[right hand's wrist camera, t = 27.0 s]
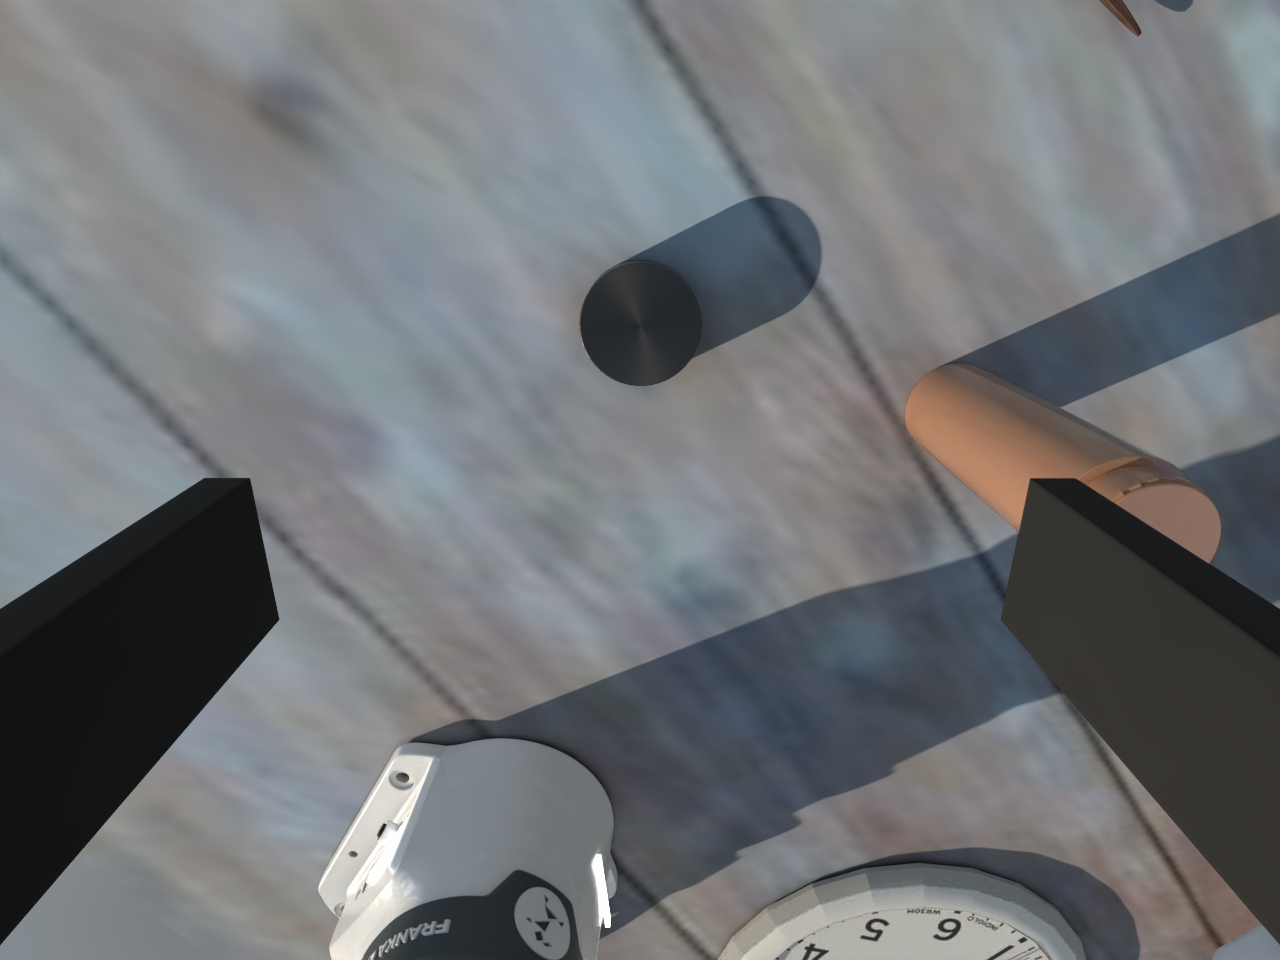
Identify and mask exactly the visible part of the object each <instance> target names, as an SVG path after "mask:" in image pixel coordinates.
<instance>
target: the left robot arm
mask: <svg viewBox="0 0 1280 960" xmlns="http://www.w3.org/2000/svg"><path fill="white" fill-rule="evenodd" d="M401 772H402V773H401ZM403 773H406V774H408V775H406V774H403ZM613 830H614V817H613V810H612V806H611V803H610V800H609V798H608V796H607V794H606V792H605V790H604V788H603V787H602V785H601V784H600V783H599V781H598V780H597V779H596V778H595V776H594V775H593V774H592V773H591V772H590V771H589V770H588V769H586V768H585V767H584V766H583V765H582V764H580V763H579V762H578V761H576V760H575V759H573V758H572V757H570V756H568V755H566V754H564V753H563V752H560V751H558V750H556V749H554V748H551V747H549V746H546V745H543V744H539V743H535V742H531V741H526V740H519V739H508V738H496V739H484V740H477V741H472V742H468V743H463V744H458V745H450V746H444V745H437V744H429V743H406V744H403V745H401V746H399V747H398V748H397V749H396V751H395V752H394V754H393V756H392V757H391V759H390V761H389V762H388V764H387V766H386V768H385V769H384V771H383V773H382V774H381V776H380V778H379V779H378V781H377V783H376V785H375V786H374V788H373V790H372V791H371V793H370V795H369V796H368V798H367V800H366V802H365V803H364V805H363V807H362V808H361V810H360V812H359V813H358V815H357V817H356V819H355V820H354V822H353V824H352V825H351V827H350V829H349V830H348V832H347V834H346V836H345V837H344V839H343V841H342V842H341V844H340V846H339V847H338V849H337V851H336V852H335V854H334V856H333V858H332V859H331V861H330V863H329V864H328V866H327V868H326V870H325V871H324V873H323V876H322V879H321V882H320V884H319V888H318V889H319V893H320V895H321V896H322V898H323V900H324V901H325V903H326V904H327V906H328V907H329V908H330V909H331V910H332V912H333V913H334V914H335V915H336V916H337V917H338V918H339V921H338V924H337V926H336V929H335V932H334V934H333V937H332V940H331V943H330V948H329V949H330V955H331V959H332V960H596V957H597V951H598V944H599V938H600V931H601V925H602V918H603V914H604V921H605V927H606V928H607V927H610V911H609V904H608V899H610V898H611V897H613V896H614V894H615V893H616V889H617V882H618V873H617V869H616V866H615V863H614V861H613V858H612V856H611V842H612V836H613ZM1211 960H1280V945H1279V944H1278V942H1277V941H1276V940H1275V939H1274V938H1273V937H1272V935H1271V934H1270V933H1269V932H1268V931H1267V930H1266V928H1265V927H1264V926H1263V925H1262V924H1259V925H1258V926H1256V927H1254V928H1252V929H1251V930H1249V931H1247V932H1246V933H1244V934H1242V935H1241V936H1239V937H1237V938H1236V939H1234V940H1232V941H1230V942H1228V943H1226V944H1225V945H1223V946H1221V947H1220V948H1218V949H1217V950H1216V951H1215V952H1214V953H1213V956H1212V959H1211Z"/></svg>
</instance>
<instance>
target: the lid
mask: <svg viewBox="0 0 1280 960" xmlns="http://www.w3.org/2000/svg"><path fill="white" fill-rule="evenodd" d="M580 334H581V340H582V343H583V346H584V348H585V351H586V353H587V355H588V356H589V358H590V360H591V361H592V362H593V363H594V365H595V366H596V367H597V368H598V369H599V370H600V371H601V372H603V373H604V374H605V375H607V376H608V377H610V378H612V379H614V380H616V381H618V382H621V383H624V384H628V385H634V386H647V385H653V384H657V383H660V382H663V381H665V380H667V379H669V378H671V377H673V376H674V375H676V374H677V373H678V372H680V371H681V370H682V369H683V368H684V367H685V366H686V365H687V363H688V362H689V361H690V360H691V358H692V356H693V355H694V353H695V351H696V348H697V346H698V343H699V340H700V335H701V313H700V309H699V305H698V303H697V300H696V298H695V296H694V294H693V292H692V290H691V289H690V287H689V286H688V284H687V283H686V281H685V280H684V279H683V278H682V277H681V276H680V275H679V274H678V273H676V272H675V271H674V270H672V269H671V268H669V267H667V266H665V265H663V264H661V263H658V262H654V261H648V260H633V261H627V262H623V263H620V264H618V265H616V266H614V267H612V268H610V269H609V270H607V271H606V272H605V273H603V274H602V275H601V276H600V277H599V278H598V279H597V280H596V281H595V283H594V284H593V286H592V287H591V289H590V291H589V292H588V294H587V296H586V298H585V300H584V303H583V306H582V309H581V314H580Z"/></svg>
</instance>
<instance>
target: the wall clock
mask: <svg viewBox="0 0 1280 960" xmlns="http://www.w3.org/2000/svg"><path fill="white" fill-rule="evenodd" d="M718 960H1086V956H1085V953H1084V949H1083V945H1082V942H1081V940H1080V939H1079V937H1078V936H1077V934H1076V933H1075V932H1074V930H1073V929H1072V928H1071V927H1070V925H1069V924H1068V923H1067V921H1066V920H1065V919H1064V918H1063V916H1062V915H1061V914H1060V912H1059V911H1058V910H1057V909H1056V907H1054V906H1053V905H1051V904H1050V903H1048V902H1047V901H1045V900H1044V899H1042V898H1041V897H1039V896H1038V895H1036V894H1035V893H1033V892H1031V891H1030V890H1028V889H1027V888H1025V887H1024V886H1022V885H1021V884H1019V883H1016V882H1013V881H1010V880H1007V879H1004V878H1001V877H998V876H995V875H992V874H989V873H986V872H983V871H980V870H977V869H974V868H966V867H956V866H946V865H936V864H926V863H913V864H902V865H892V866H881V867H871V868H863V869H860V870H856V871H853V872H849V873H846V874H842V875H839V876H836V877H832V878H829V879H825V880H822V881H818V882H815V883H812V884H810V885H808V886H806V887H804V888H802V889H800V890H798V891H797V892H795V893H793V894H791V895H789V896H787V897H785V898H783V899H781V900H779V901H778V902H776V903H774V904H772V905H770V906H768V907H766V908H765V909H764V910H763V911H762V912H761V913H759V914H758V915H757V916H756V917H755V918H754V919H753V920H751V921H750V922H749V923H748V924H747V925H746V926H744V927H743V928H742V929H741V930H740V931H739V932H738V933H736V934H735V935H734V936H733V937H732V938H731V940H730V941H729V943H728V944H727V946H726V948H725V949H724V951H723V952H722V954H721V955H720V957H719V958H718Z"/></svg>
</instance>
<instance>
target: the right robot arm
mask: <svg viewBox="0 0 1280 960" xmlns="http://www.w3.org/2000/svg"><path fill="white" fill-rule="evenodd" d="M278 621H279V616H278V611H277V606H276V601H275V597H274V592H273V587H272V582H271V577H270V572H269V568H268V563H267V558H266V553H265V548H264V544H263V539H262V534H261V529H260V524H259V519H258V515H257V510H256V505H255V500H254V495H253V491H252V486H251V481H250V478H204V479H202V480H201V481H199V482H198V483H196V484H195V485H193V486H191V487H190V488H188V489H187V490H185V491H184V492H182V493H180V494H179V495H177V496H176V497H174V498H173V499H171V500H170V501H168V502H166V503H165V504H163V505H162V506H160V507H159V508H157V509H156V510H154V511H152V512H151V513H149V514H148V515H146V516H145V517H143V518H141V519H140V520H138V521H137V522H135V523H134V524H132V525H131V526H129V527H127V528H126V529H124V530H123V531H121V532H120V533H118V534H117V535H115V536H113V537H112V538H110V539H109V540H107V541H106V542H104V543H102V544H101V545H99V546H98V547H96V548H95V549H93V550H92V551H90V552H88V553H87V554H85V555H84V556H82V557H81V558H79V559H77V560H76V561H74V562H73V563H71V564H70V565H68V566H67V567H65V568H63V569H62V570H60V571H59V572H57V573H56V574H54V575H53V576H51V577H49V578H48V579H46V580H45V581H43V582H42V583H40V584H38V585H37V586H35V587H34V588H32V589H31V590H29V591H28V592H26V593H24V594H23V595H21V596H20V597H18V598H17V599H15V600H14V601H12V602H10V603H9V604H7V605H6V606H4V607H3V608H1V609H0V945H1V944H2V942H3V941H4V940H5V939H6V938H7V937H8V935H9V934H10V933H11V932H12V931H13V930H14V928H15V927H16V926H17V925H18V924H19V923H20V921H21V920H22V919H23V918H24V917H25V916H26V914H27V913H28V912H29V911H30V910H31V909H32V907H33V906H34V905H35V904H36V903H37V902H38V900H39V899H40V898H41V897H42V896H43V895H44V893H45V892H46V891H47V890H48V889H49V888H50V886H51V885H52V884H53V883H54V882H55V881H56V879H57V878H58V877H59V876H60V875H61V874H62V872H63V871H64V870H65V869H66V868H67V867H68V865H69V864H70V863H71V862H72V861H73V860H74V858H75V857H76V856H77V855H78V854H79V853H80V851H81V850H82V849H83V848H84V847H85V846H86V844H87V843H88V842H89V841H90V840H91V839H92V837H93V836H94V835H95V834H96V833H97V832H98V830H99V829H100V828H101V827H102V826H103V825H104V823H105V822H106V821H107V820H108V819H109V818H110V816H111V815H112V814H113V813H114V812H115V811H116V809H117V808H118V807H119V806H120V805H121V804H122V802H123V801H124V800H125V799H126V798H127V797H128V795H129V794H130V793H131V792H132V791H133V790H134V789H135V787H136V786H137V785H138V784H139V783H140V782H141V780H142V779H143V778H144V777H145V776H146V775H147V773H148V772H149V771H150V770H151V769H152V768H153V766H154V765H155V764H156V763H157V762H158V761H159V759H160V758H161V757H162V756H163V755H164V754H165V752H166V751H167V750H168V749H169V748H170V747H171V745H172V744H173V743H174V742H175V741H176V740H177V738H178V737H179V736H180V735H181V734H182V733H183V731H184V730H185V729H186V728H187V727H188V726H189V724H190V723H191V722H192V721H193V720H194V719H195V717H196V716H197V715H198V714H199V713H200V712H201V710H202V709H203V708H204V707H205V706H206V705H207V703H208V702H209V701H210V700H211V699H212V698H213V696H214V695H215V694H216V693H217V692H218V691H219V689H220V688H221V687H222V686H223V685H224V684H225V682H226V681H227V680H228V679H229V678H230V677H231V675H232V674H233V673H234V672H235V671H236V670H237V668H238V667H239V666H240V665H241V664H242V663H243V661H244V660H245V659H246V658H247V657H248V656H249V654H250V653H251V652H252V651H253V650H254V649H255V647H256V646H257V645H258V644H259V643H260V642H261V640H262V639H263V638H264V637H265V636H266V635H267V633H268V632H269V631H270V630H271V629H272V628H273V626H274V625H275V624H276V623H277V622H278ZM1001 621H1002V622H1003V623H1004V624H1005V625H1006V626H1007V628H1008V629H1009V630H1010V631H1011V632H1012V633H1013V635H1014V636H1015V637H1016V638H1017V639H1018V640H1019V642H1020V643H1021V644H1022V645H1023V646H1024V647H1025V649H1026V650H1027V651H1028V652H1029V653H1030V654H1031V656H1032V657H1033V658H1034V659H1035V660H1036V661H1037V663H1038V664H1039V665H1040V666H1041V667H1042V668H1043V670H1044V671H1045V672H1046V673H1047V674H1048V675H1049V677H1050V678H1051V679H1052V680H1053V681H1054V682H1055V684H1056V685H1057V686H1058V687H1059V688H1060V689H1061V691H1062V692H1063V693H1064V694H1065V695H1066V696H1067V698H1068V699H1069V700H1070V701H1071V702H1072V703H1073V705H1074V706H1075V707H1076V708H1077V709H1078V710H1079V712H1080V713H1081V714H1082V715H1083V716H1084V717H1085V719H1086V720H1087V721H1088V722H1089V723H1090V724H1091V726H1092V727H1093V728H1094V729H1095V730H1096V731H1097V733H1098V734H1099V735H1100V736H1101V737H1102V738H1103V740H1104V741H1105V742H1106V743H1107V744H1108V745H1109V747H1110V748H1111V749H1112V750H1113V751H1114V752H1115V754H1116V755H1117V756H1118V757H1119V758H1120V759H1121V761H1122V762H1123V763H1124V764H1125V765H1126V766H1127V768H1128V769H1129V770H1130V771H1131V772H1132V773H1133V775H1134V776H1135V777H1136V778H1137V779H1138V780H1139V782H1140V783H1141V784H1142V785H1143V786H1144V787H1145V789H1146V790H1147V791H1148V792H1149V793H1150V794H1151V796H1152V797H1153V798H1154V799H1155V800H1156V801H1157V802H1158V804H1159V805H1160V806H1161V807H1162V808H1163V809H1164V811H1165V812H1166V813H1167V814H1168V815H1169V816H1170V818H1171V819H1172V820H1173V821H1174V822H1175V823H1176V825H1177V826H1178V827H1179V828H1180V829H1181V830H1182V832H1183V833H1184V834H1185V835H1186V836H1187V837H1188V839H1189V840H1190V841H1191V842H1192V843H1193V844H1194V846H1195V847H1196V848H1197V849H1198V850H1199V851H1200V853H1201V854H1202V855H1203V856H1204V857H1205V858H1206V860H1207V861H1208V862H1209V863H1210V864H1211V865H1212V867H1213V868H1214V869H1215V870H1216V871H1217V872H1218V874H1219V875H1220V876H1221V877H1222V878H1223V879H1224V881H1225V882H1226V883H1227V884H1228V885H1229V886H1230V888H1231V889H1232V890H1233V891H1234V892H1235V893H1236V895H1237V896H1238V897H1239V898H1240V899H1241V900H1242V902H1243V903H1244V904H1245V905H1246V906H1247V907H1248V909H1249V910H1250V911H1251V912H1252V913H1253V914H1254V916H1255V917H1256V918H1257V919H1258V920H1259V921H1260V923H1261V924H1262V925H1263V926H1264V927H1265V928H1266V930H1267V931H1268V932H1269V933H1270V934H1271V935H1272V937H1273V938H1274V939H1275V940H1276V941H1277V942H1278V944H1279V945H1280V609H1279V608H1277V607H1276V606H1274V605H1273V604H1271V603H1270V602H1268V601H1266V600H1265V599H1263V598H1262V597H1260V596H1259V595H1257V594H1256V593H1254V592H1252V591H1251V590H1249V589H1248V588H1246V587H1245V586H1243V585H1242V584H1240V583H1238V582H1237V581H1235V580H1234V579H1232V578H1231V577H1229V576H1227V575H1226V574H1224V573H1223V572H1221V571H1220V570H1218V569H1217V568H1215V567H1213V566H1212V565H1210V564H1209V563H1207V562H1206V561H1204V560H1203V559H1201V558H1199V557H1198V556H1196V555H1195V554H1193V553H1192V552H1190V551H1188V550H1187V549H1185V548H1184V547H1182V546H1181V545H1179V544H1178V543H1176V542H1174V541H1173V540H1171V539H1170V538H1168V537H1167V536H1165V535H1163V534H1162V533H1160V532H1159V531H1157V530H1156V529H1154V528H1153V527H1151V526H1149V525H1148V524H1146V523H1145V522H1143V521H1142V520H1140V519H1139V518H1137V517H1135V516H1134V515H1132V514H1131V513H1129V512H1128V511H1126V510H1124V509H1123V508H1121V507H1120V506H1118V505H1117V504H1115V503H1114V502H1112V501H1110V500H1109V499H1107V498H1106V497H1104V496H1103V495H1101V494H1100V493H1098V492H1096V491H1095V490H1093V489H1092V488H1090V487H1089V486H1087V485H1085V484H1084V483H1082V482H1081V481H1079V480H1078V479H1076V478H1030V481H1029V486H1028V491H1027V495H1026V500H1025V505H1024V510H1023V515H1022V519H1021V524H1020V529H1019V534H1018V539H1017V544H1016V548H1015V553H1014V558H1013V563H1012V568H1011V572H1010V577H1009V582H1008V587H1007V592H1006V596H1005V601H1004V606H1003V611H1002V616H1001Z"/></svg>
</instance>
